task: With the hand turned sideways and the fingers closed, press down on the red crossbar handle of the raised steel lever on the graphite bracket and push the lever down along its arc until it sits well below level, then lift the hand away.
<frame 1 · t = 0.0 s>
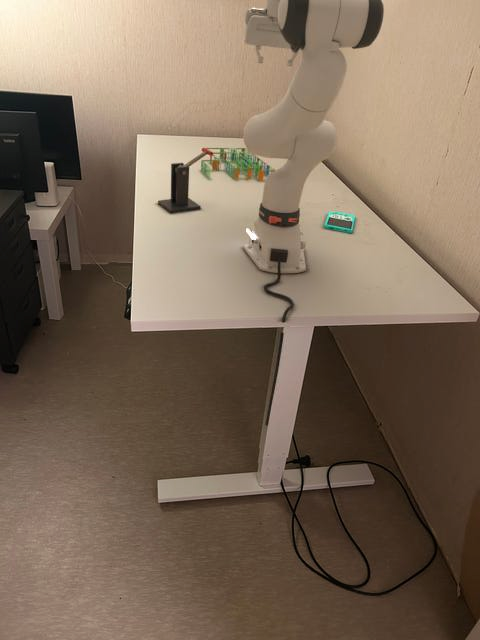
hand: (274, 64, 142), 48 cm above the table, tool pointing down, fingers open, 8 cm apart
lever: (193, 161, 161), point 16 cm above the table, hinge at 28.0°
house model: (230, 169, 212), on the table
handheld game console: (339, 223, 169), on the table
bracket: (179, 206, 167), on the table
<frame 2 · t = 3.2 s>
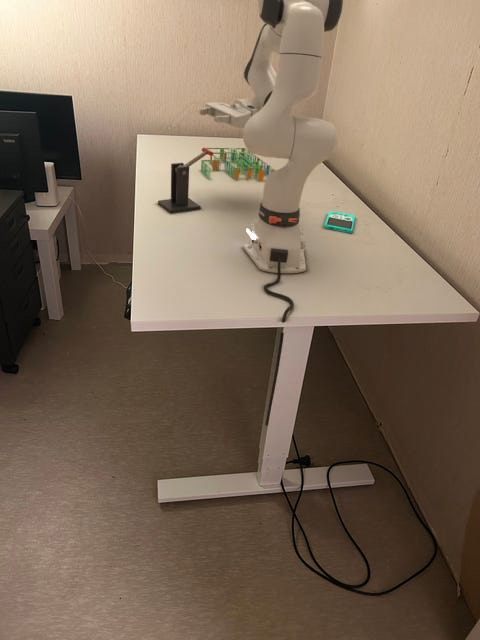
hand: (207, 115, 155), 31 cm above the table, tool horizontal, fingers open, 8 cm apart
nothing on the table moved.
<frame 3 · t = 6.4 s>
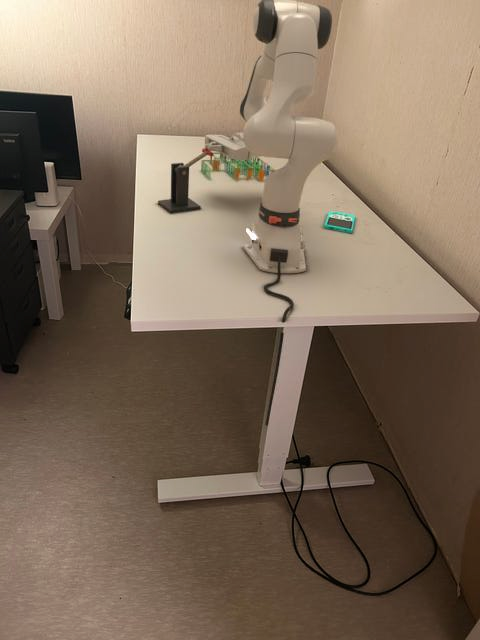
hand: (207, 147, 161), 20 cm above the table, tool horizontal, fingers closed
lever: (193, 161, 161), point 16 cm above the table, hinge at 26.7°, touching gripper
everything else where it was.
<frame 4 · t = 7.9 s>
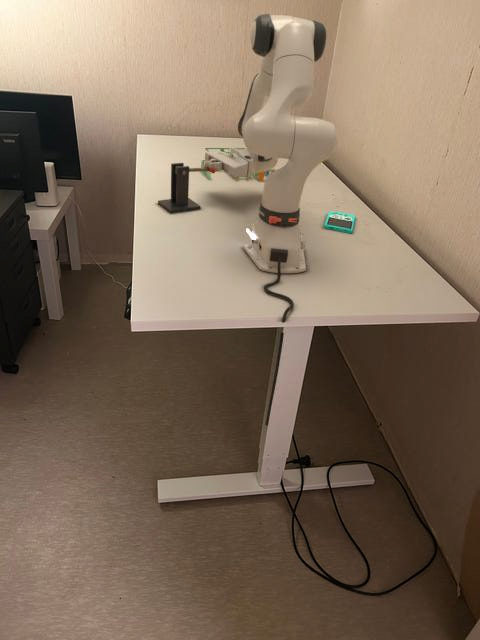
hand: (207, 164, 165), 14 cm above the table, tool horizontal, fingers closed
lever: (194, 169, 163), point 13 cm above the table, hinge at -2.7°, touching gripper
everything else where it was.
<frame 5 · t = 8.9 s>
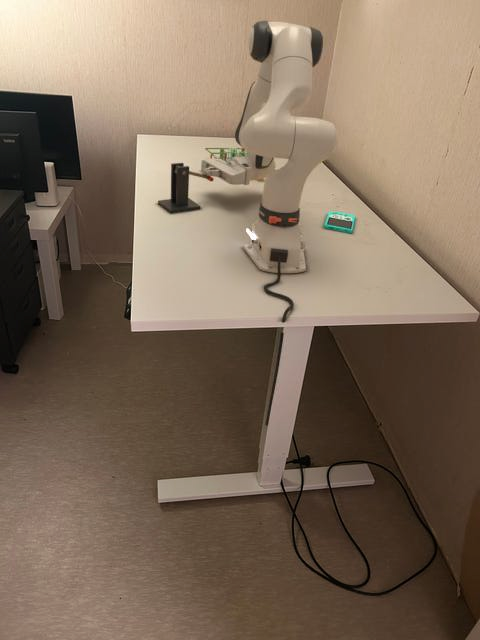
hand: (204, 172, 166), 11 cm above the table, tool horizontal, fingers closed, pressing on lever
lever: (193, 173, 163), point 11 cm above the table, hinge at -16.7°, touching gripper
everything else where it was.
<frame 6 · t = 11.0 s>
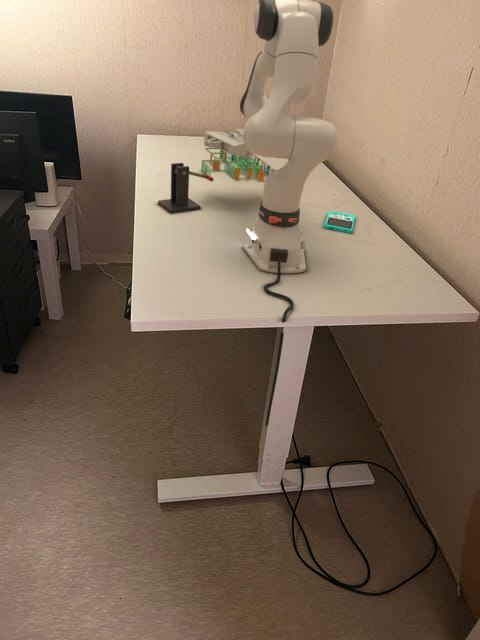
hand: (206, 143, 160), 21 cm above the table, tool horizontal, fingers closed
lever: (193, 173, 163), point 11 cm above the table, hinge at -16.7°
everything else where it was.
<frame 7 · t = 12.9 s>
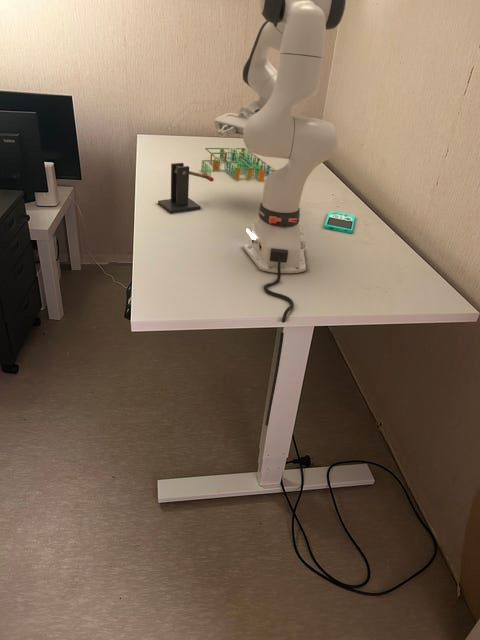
hand: (220, 134, 158), 25 cm above the table, tool tilted 70°, fingers closed
nothing on the table moved.
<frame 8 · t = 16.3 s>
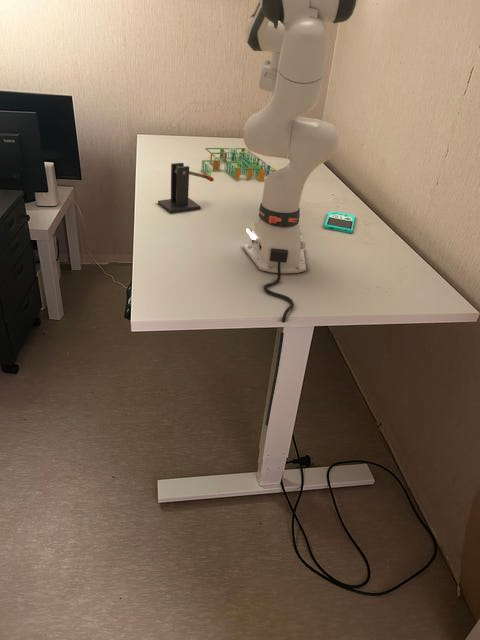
hand: (277, 108, 159), 34 cm above the table, tool pointing down, fingers closed
nothing on the table moved.
at the end: lever at -17° (first picture: +28°); the gripper is holding nothing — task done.
